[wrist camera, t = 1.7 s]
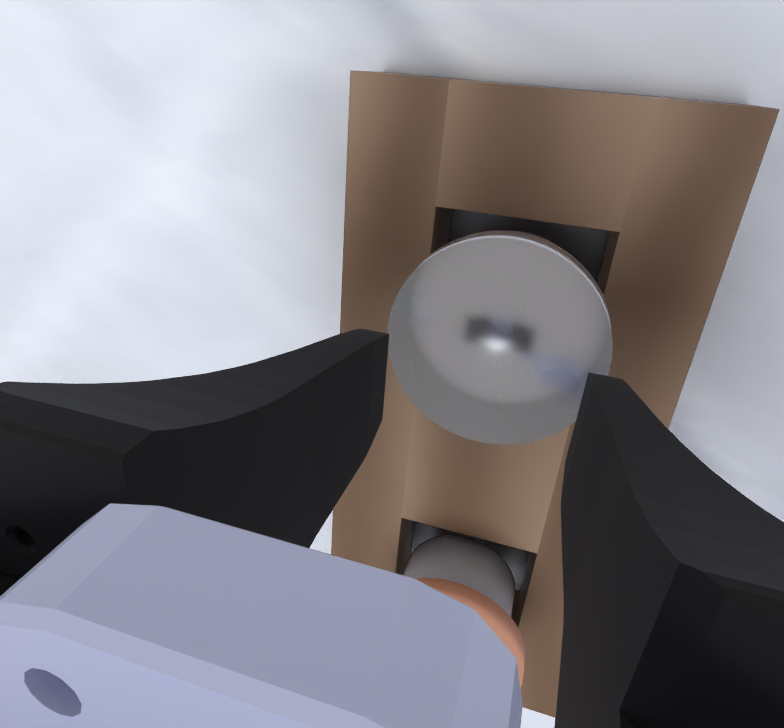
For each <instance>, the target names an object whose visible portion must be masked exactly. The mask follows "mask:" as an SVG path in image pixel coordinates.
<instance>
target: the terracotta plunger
mask: <svg viewBox="0 0 784 728" xmlns="http://www.w3.org/2000/svg"><path fill="white" fill-rule="evenodd" d="M404 576H407V577H411V578H414V579H416V580H418V581H420V582H422V583H424V584H426V585H428V586H430V587H432V588H434V589H436V590H438V591H440V592H442V593H444V594H446V595H448V596H450V597H452V598H454V599H456V600H458V601H460V602H462V603H464V604H466V605H468V606H470V607H471V608H473V609H474V610H475V611H476V612H477V613H478V614H479V615H480V616H481V618H482V619H483V620H484V621H485V622H486V623H487V625H488V626H489V627H490V628H491V629H492V630H493V631H494V633H495V634H496V635H497V636H498V637H499V638H500V640H501V641H502V642H503V643H504V644H505V645H506V647H507V648H508V649H509V650H510V651H511V652H512V654H513V655H514V656H515V657H516V659H517V666H518V674H519V682H520V688H521V686H522V681H523V674H524V664H525V645H524V640H523V637H522V635H521V632H520V630H519V629H518V627H517V625H516V624H515V622H514V621H513V619H512V618H511V614H512V607H513V599H514V592H515V582H514V577H513V574H512V572H511V570H510V568H509V566H508V565H507V564H506V562H505V561H504V560H503V559H502V558H501V557H500V556H499V555H498V554H497V553H496V552H495V551H493V550H492V549H491V548H489V547H487V546H486V545H484V544H482V543H480V542H477V541H475V540H472V539H469V538H465V537H460V536H439V537H434V538H431V539H428V540H426V541H424V542H423V543H421V544H420V545H419V546H417V547H416V549H415V550H414V551H413V553H412V554H411V556H410V559H409V561H408V564H407V567H406V570H405V572H404Z"/></svg>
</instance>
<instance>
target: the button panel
mask: <svg viewBox="0 0 784 728" xmlns="http://www.w3.org/2000/svg"><path fill="white" fill-rule="evenodd" d="M778 112H779V109H774V108H767V107H760V106H753V105H744V104H733V103H721V102H710V101H699V100H688V99H677V98H666V97H654V96H643V95H632V94H621V93H610V92H599V91H587V90H576V89H565V88H554V87H543V86H532V85H520V84H509V83H498V82H487V81H476V80H465V79H453V78H442V77H431V76H420V75H409V74H398V73H386V72H369V71H350V96H349V121H348V146H347V171H346V196H345V221H344V247H343V272H342V297H341V322H340V334H341V333H345V332H348V331H351V330H355V329H360V328H362V329H367V330H372V331H377V332H383V333H388V323H389V316H390V313H391V310H392V306H393V303H394V301H395V299H396V297H397V295H398V292H399V291H400V289H401V288H402V286H403V284H404V283H405V281H406V280H407V279H408V278H409V277H410V275H411V274H412V273H413V272H414V271H415V270H416V269H417V267H418V266H419V265H420V264H421V263H422V262H423V261H424V260H425V259H426V258H427V257H428V256H430V255H431V254H432V253H433V252H434V251H436V250H437V249H439V248H440V247H442V246H443V245H445V244H447V243H449V237H450V229H451V221H452V212H453V209H458V210H465V211H472V212H480V213H487V214H494V215H501V216H508V217H515V218H522V219H530V220H537V221H544V222H551V223H558V224H565V225H572V226H580V227H587V228H594V229H601V230H608V231H610V233H609V237H608V241H607V245H606V249H605V253H604V257H603V261H602V265H601V269H600V273H599V277H598V281H597V285H598V286H599V288H600V289H601V292H602V294H603V296H604V299H605V301H606V304H607V308H608V311H609V315H610V323H611V332H612V341H613V349H612V361H611V366H610V371H609V374H608V376H611V377H616V378H621V379H623V380H624V381H625V382H626V383H627V384H628V385H629V386H630V387H631V388H632V389H633V390H634V392H635V393H636V394H637V395H638V396H639V397H640V399H641V400H642V401H643V402H644V403H645V404H646V405H647V407H648V408H649V409H650V410H651V411H652V412H653V413H654V415H655V416H656V417H657V418H658V419H659V420H660V421H661V422H662V423H663V424H664V425H665V427H666V428H667V429H668V428H669V425H670V422H671V419H672V416H673V413H674V411H675V408H676V405H677V402H678V399H679V396H680V393H681V390H682V388H683V385H684V382H685V379H686V376H687V373H688V370H689V368H690V365H691V362H692V359H693V356H694V353H695V350H696V347H697V345H698V342H699V339H700V336H701V333H702V330H703V327H704V325H705V322H706V319H707V316H708V313H709V310H710V307H711V304H712V302H713V299H714V296H715V293H716V290H717V287H718V284H719V282H720V279H721V276H722V273H723V270H724V267H725V264H726V261H727V259H728V256H729V253H730V250H731V247H732V244H733V241H734V239H735V236H736V233H737V230H738V227H739V224H740V221H741V218H742V216H743V213H744V210H745V207H746V204H747V201H748V198H749V196H750V193H751V190H752V187H753V184H754V181H755V178H756V175H757V173H758V170H759V167H760V164H761V161H762V158H763V155H764V153H765V150H766V147H767V144H768V141H769V138H770V135H771V132H772V130H773V127H774V124H775V121H776V118H777V115H778ZM575 422H576V421H575ZM575 422H574V423H572V424H571V425H570V426H568V427H566V428H565V429H563V430H561V431H560V432H558V433H555V434H553V435H551V436H548V437H546V438H543V439H540V440H536V441H533V442H527V443H521V444H507V445H503V444H489V443H484V442H478V441H474V440H471V439H467V438H464V437H462V436H459V435H457V434H454V433H452V432H450V431H448V430H446V429H444V428H443V427H441V426H439V425H438V424H436V423H435V422H433V421H432V420H431V419H429V418H428V417H427V416H426V415H425V414H423V413H422V412H421V411H420V410H419V409H418V408H417V407H416V406H415V405H414V403H413V402H412V401H411V400H410V399H409V397H408V396H407V395H406V393H405V392H404V390H403V389H402V387H401V385H400V383H399V381H398V380H397V378H396V375H395V373H394V370H393V368H392V364H391V360H390V356H389V350H388V357H387V369H386V381H385V394H384V406H383V418H382V422H381V424H380V426H379V429H378V431H377V433H376V436H375V438H374V440H373V443H372V445H371V447H370V449H369V451H368V454H367V456H366V458H365V459H364V461H363V462H362V464H361V466H360V467H359V469H358V471H357V472H356V474H355V475H354V477H353V479H352V480H351V482H350V483H349V485H348V486H347V488H346V490H345V491H344V493H343V494H342V496H341V497H340V499H339V501H338V502H337V504H336V505H335V507H334V508H333V523H332V548H331V555H334V556H337V557H341V558H344V559H348V560H351V561H355V562H358V563H362V564H365V565H369V566H372V567H376V568H379V569H383V570H386V571H390V572H393V573H397V574H400V575H404V572H405V570H406V567H407V564H408V561H409V559H410V553H411V545H412V537H413V529H414V521H416V522H420V523H423V524H427V525H431V526H435V527H438V528H442V529H446V530H450V531H454V532H457V533H461V534H465V535H469V536H472V537H476V538H480V539H484V540H488V541H491V542H495V543H499V544H503V545H506V546H510V547H514V548H518V549H522V550H525V551H529V552H530V554H529V558H528V562H527V566H526V570H525V574H524V579H523V583H522V587H521V591H520V592H519V591H515V592H514V599H513V607H512V614H511V618H512V619H513V621H514V622H515V624H516V625H517V627H518V629H519V630H520V632H521V635H522V637H523V640H524V645H525V664H524V674H523V681H522V686H521V688H520V690H521V698H522V707H524V708H527V709H530V710H533V711H536V712H540V713H543V714H546V715H549V716H552V717H555V718H556V707H557V696H558V685H559V673H560V661H561V648H562V636H563V613H564V597H563V566H562V536H561V496H562V486H563V477H564V468H565V461H566V457H567V453H568V449H569V445H570V441H571V438H572V434H573V430H574V426H575Z"/></svg>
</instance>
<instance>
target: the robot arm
mask: <svg viewBox="0 0 784 728" xmlns="http://www.w3.org/2000/svg"><path fill="white" fill-rule="evenodd" d="M388 345H389V334H388V333H383V332H377V331H372V330H367V329H362V328H360V329H355V330H351V331H348V332H345V333H341V334H339V335H336V336H333V337H330V338H327V339H325V340H322V341H319V342H316V343H313V344H311V345H308V346H305V347H302V348H299V349H297V350H294V351H291V352H287V353H284V354H281V355H278V356H274V357H271V358H268V359H265V360H261V361H258V362H255V363H251V364H247V365H243V366H239V367H235V368H231V369H226V370H221V371H216V372H211V373H205V374H200V375H192V376H184V377H176V378H169V379H161V380H153V381H140V382H125V383H99V384H63V383H25V382H3V383H0V728H520V725H521V715H522V698H521V690H520V682H519V674H518V666H517V659H516V657H515V656H514V655H513V654H512V652H511V651H510V650H509V649H508V648H507V647H506V645H505V644H504V643H503V642H502V641H501V640H500V638H499V637H498V636H497V635H496V634H495V633H494V631H493V630H492V629H491V628H490V627H489V626H488V625H487V623H486V622H485V621H484V620H483V619H482V618H481V616H480V615H479V614H478V613H477V612H476V611H475V610H474V609H473V608H471V607H470V606H468V605H466V604H464V603H462V602H460V601H458V600H456V599H454V598H452V597H450V596H448V595H446V594H444V593H442V592H440V591H438V590H436V589H434V588H432V587H430V586H428V585H426V584H424V583H422V582H420V581H418V580H416V579H414V578H411V577H407V576H404V575H400V574H397V573H393V572H390V571H386V570H383V569H379V568H376V567H372V566H369V565H365V564H362V563H358V562H355V561H351V560H348V559H344V558H341V557H337V556H334V555H331V554H327V553H324V552H320V551H317V550H313V549H310V546H311V544H312V542H313V541H314V539H315V537H316V535H317V534H318V532H319V530H320V529H321V527H322V526H323V524H324V523H325V521H326V519H327V518H328V516H329V515H330V513H331V512H332V510H333V508H334V507H335V505H336V504H337V502H338V501H339V499H340V497H341V496H342V494H343V493H344V491H345V490H346V488H347V486H348V485H349V483H350V482H351V480H352V479H353V477H354V475H355V474H356V472H357V471H358V469H359V467H360V466H361V464H362V462H363V461H364V459H365V458H366V456H367V454H368V451H369V449H370V447H371V445H372V443H373V440H374V438H375V436H376V433H377V431H378V429H379V426H380V424H381V422H382V418H383V406H384V394H385V381H386V369H387V357H388ZM561 536H562V566H563V597H564V613H563V636H562V648H561V661H560V673H559V685H558V696H557V707H556V718H555V728H784V522H782V521H781V520H779V519H778V518H776V517H775V516H773V515H771V514H770V513H768V512H767V511H765V510H764V509H762V508H761V507H759V506H758V505H757V504H755V503H754V502H752V501H751V500H749V499H748V498H747V497H745V496H744V495H743V494H741V493H740V492H739V491H737V490H736V489H735V488H733V487H732V486H731V485H730V484H728V483H727V482H726V481H724V480H723V479H722V478H721V477H719V476H718V475H717V474H715V473H714V472H713V471H712V470H711V469H710V468H708V467H707V466H706V465H705V464H704V463H703V462H701V461H700V460H699V459H698V458H697V457H696V456H695V455H694V454H693V453H692V452H691V451H690V450H689V449H688V448H686V447H685V446H684V445H683V444H682V443H681V442H680V441H679V440H678V439H677V438H676V437H675V436H674V435H673V434H672V433H671V432H670V431H669V430H668V429H667V428H666V427H665V425H664V424H663V423H662V422H661V421H660V420H659V419H658V418H657V417H656V416H655V415H654V413H653V412H652V411H651V410H650V409H649V408H648V407H647V405H646V404H645V403H644V402H643V401H642V400H641V399H640V397H639V396H638V395H637V394H636V393H635V392H634V390H633V389H632V388H631V387H630V386H629V385H628V384H627V383H626V382H625V381H624V380H623V379H621V378H616V377H611V376H605V375H600V374H595V373H590V372H588V376H587V380H586V384H585V388H584V392H583V395H582V399H581V403H580V407H579V411H578V415H577V418H576V422H575V426H574V430H573V434H572V438H571V441H570V445H569V449H568V453H567V457H566V461H565V468H564V477H563V486H562V496H561Z"/></svg>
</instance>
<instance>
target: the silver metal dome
mask: <svg viewBox="0 0 784 728" xmlns="http://www.w3.org/2000/svg"><path fill="white" fill-rule="evenodd" d="M388 334H389V345H388V350H389V356H390V360H391V364H392V368H393V370H394V373H395V375H396V378H397V380H398V381H399V383H400V385H401V387H402V389H403V390H404V392H405V393H406V395H407V396H408V397H409V399H410V400H411V401H412V402H413V403H414V405H415V406H416V407H417V408H418V409H419V410H420V411H421V412H422V413H423V414H425V415H426V416H427V417H428V418H429V419H431V420H432V421H433V422H435V423H436V424H438V425H439V426H441V427H443V428H444V429H446V430H448V431H450V432H452V433H454V434H457V435H459V436H462V437H464V438H467V439H471V440H474V441H478V442H484V443H489V444H503V445H507V444H521V443H527V442H533V441H536V440H540V439H543V438H546V437H548V436H551V435H553V434H555V433H558V432H560V431H561V430H563V429H565V428H566V427H568V426H570V425H571V424H572V423H574V422H575V421H576V418H577V415H578V411H579V407H580V403H581V399H582V395H583V392H584V388H585V384H586V380H587V376H588V372H590V373H595V374H600V375H605V376H608V374H609V371H610V366H611V361H612V349H613V341H612V332H611V323H610V315H609V311H608V308H607V304H606V301H605V299H604V296H603V294H602V292H601V289H600V288H599V286H598V285H597V283H596V281H595V280H594V278H593V277H592V275H591V274H590V273H589V272H588V270H587V269H586V268H585V267H584V266H583V265H582V264H581V263H580V262H579V261H578V260H577V259H576V258H575V257H573V256H572V255H571V254H570V253H568V252H567V251H565V250H564V249H562V248H561V247H559V246H557V245H555V244H554V243H552V242H551V241H549V240H547V239H545V238H543V237H541V236H538V235H536V234H533V233H528V232H523V231H504V230H497V231H484V232H479V233H473V234H469V235H466V236H463V237H460V238H457V239H455V240H453V241H451V242H449V243H447V244H445V245H443V246H442V247H440V248H439V249H437V250H436V251H434V252H433V253H432V254H431V255H430V256H428V257H427V258H426V259H425V260H424V261H423V262H422V263H421V264H420V265H419V266H418V267H417V269H416V270H415V271H414V272H413V273H412V274H411V275H410V277H409V278H408V279H407V280H406V281H405V283H404V284H403V286H402V288H401V289H400V291H399V292H398V295H397V297H396V299H395V301H394V303H393V306H392V310H391V313H390V316H389V323H388Z"/></svg>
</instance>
